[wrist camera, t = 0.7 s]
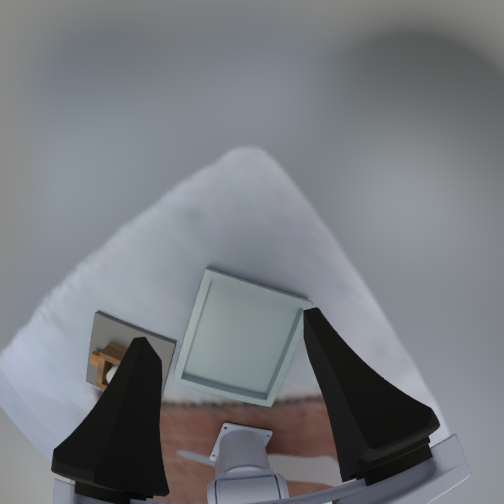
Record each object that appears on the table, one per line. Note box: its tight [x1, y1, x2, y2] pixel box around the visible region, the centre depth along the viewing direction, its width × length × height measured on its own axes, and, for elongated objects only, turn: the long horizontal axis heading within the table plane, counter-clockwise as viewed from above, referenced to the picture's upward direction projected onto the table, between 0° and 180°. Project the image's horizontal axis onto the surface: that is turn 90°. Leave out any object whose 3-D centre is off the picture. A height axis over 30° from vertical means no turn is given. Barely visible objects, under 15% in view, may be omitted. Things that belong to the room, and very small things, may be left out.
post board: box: [86, 311, 176, 398], centre depth 31 cm, size 12×12×6 cm
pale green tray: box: [172, 267, 313, 407], centre depth 34 cm, size 16×14×2 cm
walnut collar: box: [90, 342, 127, 390], centre depth 31 cm, size 6×8×4 cm
